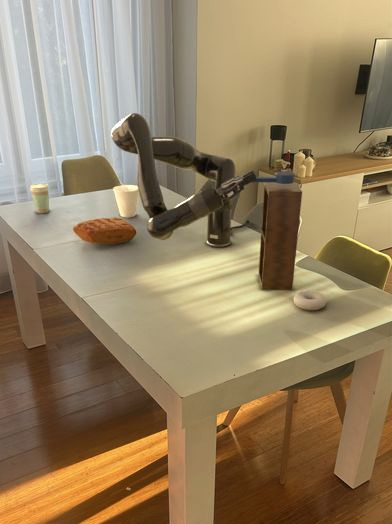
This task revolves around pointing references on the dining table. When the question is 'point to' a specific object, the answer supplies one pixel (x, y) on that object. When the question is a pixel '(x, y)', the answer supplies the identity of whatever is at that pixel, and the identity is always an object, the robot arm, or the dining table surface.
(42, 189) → the coffee cup
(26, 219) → the dining table surface
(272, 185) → the shelf
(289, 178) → the blue elongated piece
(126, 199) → the cup
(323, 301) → the donut
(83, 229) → the cuneiform tablet
